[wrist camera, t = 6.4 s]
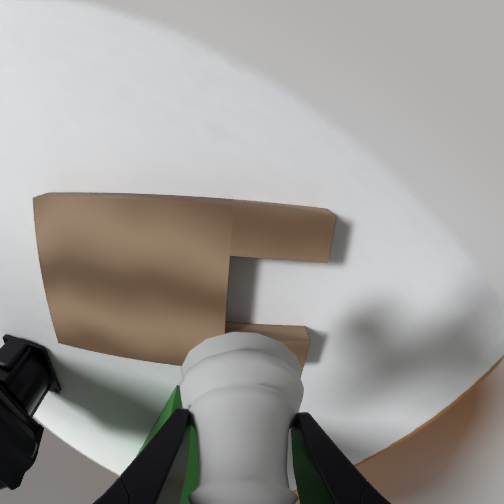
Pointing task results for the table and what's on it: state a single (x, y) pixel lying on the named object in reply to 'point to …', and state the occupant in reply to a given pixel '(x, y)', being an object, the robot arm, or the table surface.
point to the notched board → (163, 267)
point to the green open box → (192, 468)
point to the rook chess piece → (241, 417)
